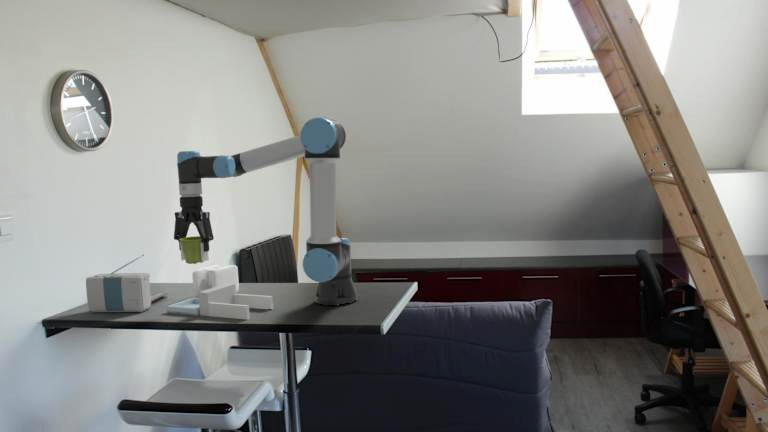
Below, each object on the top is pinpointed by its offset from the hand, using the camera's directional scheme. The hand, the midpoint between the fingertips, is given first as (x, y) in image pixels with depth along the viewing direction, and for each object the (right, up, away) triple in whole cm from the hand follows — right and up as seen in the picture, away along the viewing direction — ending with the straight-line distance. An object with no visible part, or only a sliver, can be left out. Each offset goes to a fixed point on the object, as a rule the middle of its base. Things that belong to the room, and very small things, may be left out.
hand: (194, 260), depth 206 cm
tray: (0, -18, +2) cm, 18 cm away
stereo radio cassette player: (-28, -19, +5) cm, 34 cm away
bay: (+16, -18, -4) cm, 24 cm away
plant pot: (0, -1, 0) cm, 1 cm away
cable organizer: (+1, -16, +22) cm, 27 cm away
